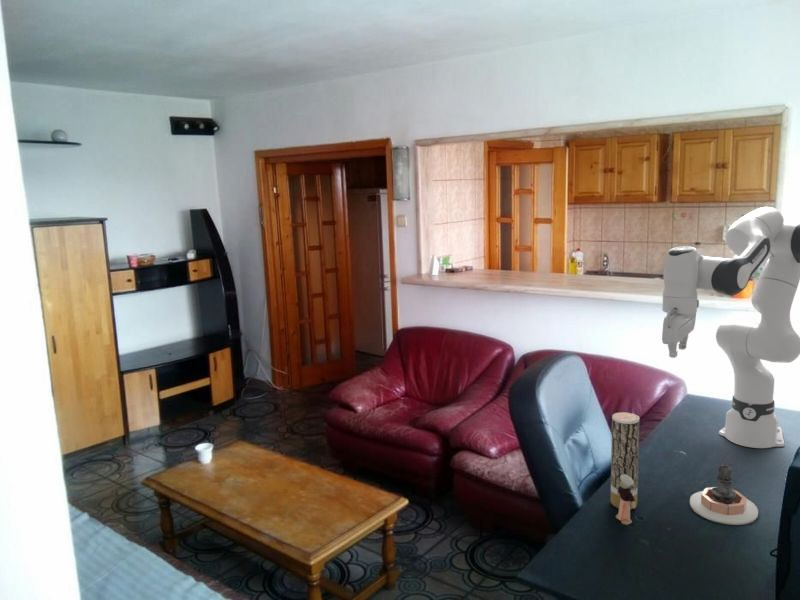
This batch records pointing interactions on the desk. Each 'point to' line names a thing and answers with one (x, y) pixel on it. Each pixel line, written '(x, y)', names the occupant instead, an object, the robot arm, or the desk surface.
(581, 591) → the desk surface
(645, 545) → the desk surface
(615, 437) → the wooden cylinder
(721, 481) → the grey chess piece
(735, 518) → the saucer
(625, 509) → the grandmother figurine
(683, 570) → the desk surface
